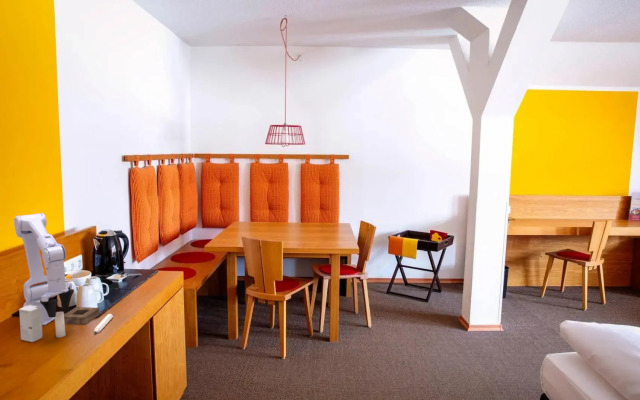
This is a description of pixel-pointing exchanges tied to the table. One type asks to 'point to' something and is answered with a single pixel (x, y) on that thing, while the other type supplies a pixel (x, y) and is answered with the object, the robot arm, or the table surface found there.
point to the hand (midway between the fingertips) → (59, 312)
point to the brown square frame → (81, 315)
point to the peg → (60, 324)
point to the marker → (103, 323)
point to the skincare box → (30, 323)
